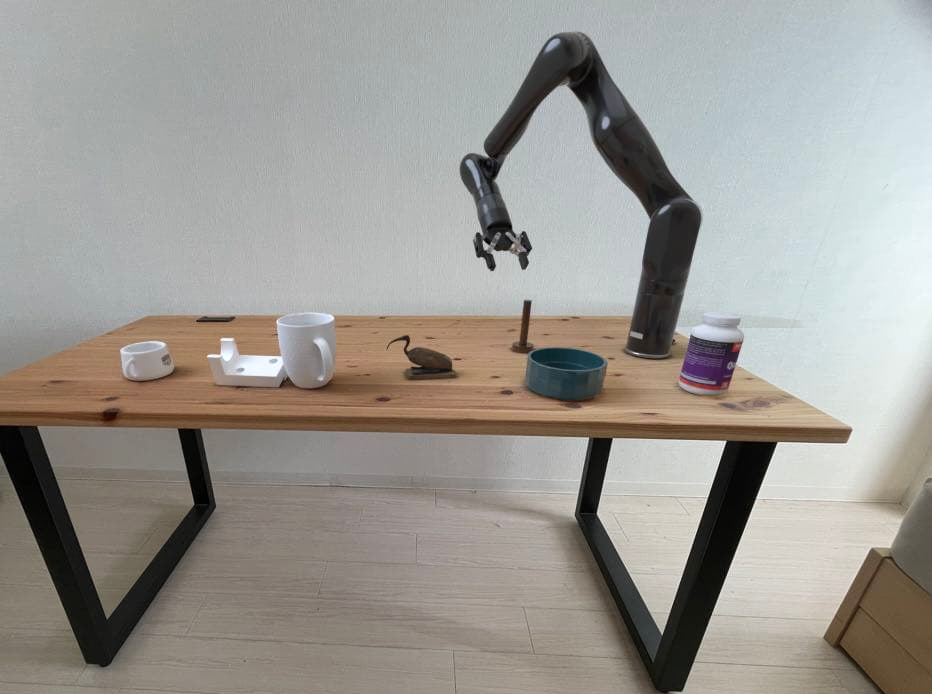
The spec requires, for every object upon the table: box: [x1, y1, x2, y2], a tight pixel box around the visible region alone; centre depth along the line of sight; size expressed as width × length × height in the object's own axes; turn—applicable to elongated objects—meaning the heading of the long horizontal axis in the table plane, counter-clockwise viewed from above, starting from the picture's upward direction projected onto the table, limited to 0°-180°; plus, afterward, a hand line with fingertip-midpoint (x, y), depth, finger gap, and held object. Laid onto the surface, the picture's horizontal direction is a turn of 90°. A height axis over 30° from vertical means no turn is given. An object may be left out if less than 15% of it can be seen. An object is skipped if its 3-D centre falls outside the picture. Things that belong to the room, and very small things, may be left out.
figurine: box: [386, 334, 456, 380], centre depth 93 cm, size 14×4×9 cm, turn 95°
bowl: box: [524, 346, 609, 401], centre depth 87 cm, size 14×14×6 cm
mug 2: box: [276, 312, 338, 389], centre depth 88 cm, size 15×11×13 cm
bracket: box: [206, 337, 289, 388], centre depth 91 cm, size 13×7×8 cm, turn 83°
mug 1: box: [120, 340, 175, 382], centre depth 95 cm, size 12×10×6 cm
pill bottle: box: [677, 310, 745, 397], centre depth 83 cm, size 8×8×14 cm
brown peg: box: [511, 299, 535, 354], centre depth 108 cm, size 5×5×12 cm
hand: (509, 268), depth 113 cm, fingers open, 8 cm apart
